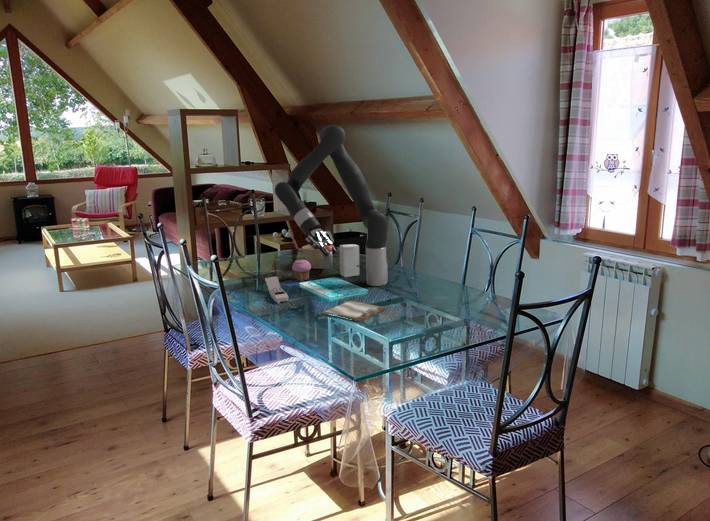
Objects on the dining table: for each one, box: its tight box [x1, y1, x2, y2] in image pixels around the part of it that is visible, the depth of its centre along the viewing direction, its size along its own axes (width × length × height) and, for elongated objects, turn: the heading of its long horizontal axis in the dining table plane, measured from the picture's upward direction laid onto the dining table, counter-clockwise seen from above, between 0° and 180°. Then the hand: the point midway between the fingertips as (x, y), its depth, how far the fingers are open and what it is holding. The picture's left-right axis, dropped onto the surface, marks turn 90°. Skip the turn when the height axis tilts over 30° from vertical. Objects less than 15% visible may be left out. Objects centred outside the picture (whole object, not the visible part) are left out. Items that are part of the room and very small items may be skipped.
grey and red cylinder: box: [322, 245, 334, 270], centre depth 240 cm, size 4×4×9 cm
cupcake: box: [291, 259, 312, 282], centre depth 279 cm, size 9×9×10 cm
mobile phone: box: [264, 276, 289, 305], centre depth 255 cm, size 6×6×25 cm
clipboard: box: [321, 300, 387, 323], centre depth 231 cm, size 18×18×2 cm
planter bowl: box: [301, 243, 335, 270], centre depth 304 cm, size 16×16×11 cm
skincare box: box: [339, 243, 360, 278], centre depth 285 cm, size 8×6×15 cm
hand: (331, 253), depth 238 cm, fingers closed on grey and red cylinder, 4 cm apart
